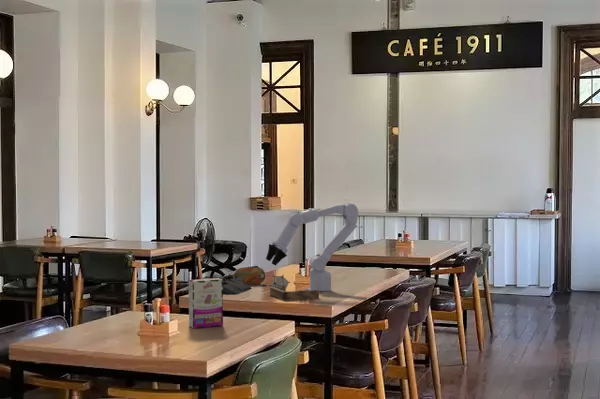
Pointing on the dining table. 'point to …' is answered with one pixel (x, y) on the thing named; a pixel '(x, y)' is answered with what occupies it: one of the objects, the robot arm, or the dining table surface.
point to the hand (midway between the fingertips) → (270, 262)
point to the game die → (279, 283)
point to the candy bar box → (205, 303)
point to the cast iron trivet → (234, 287)
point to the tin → (250, 275)
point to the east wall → (277, 293)
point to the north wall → (301, 294)
